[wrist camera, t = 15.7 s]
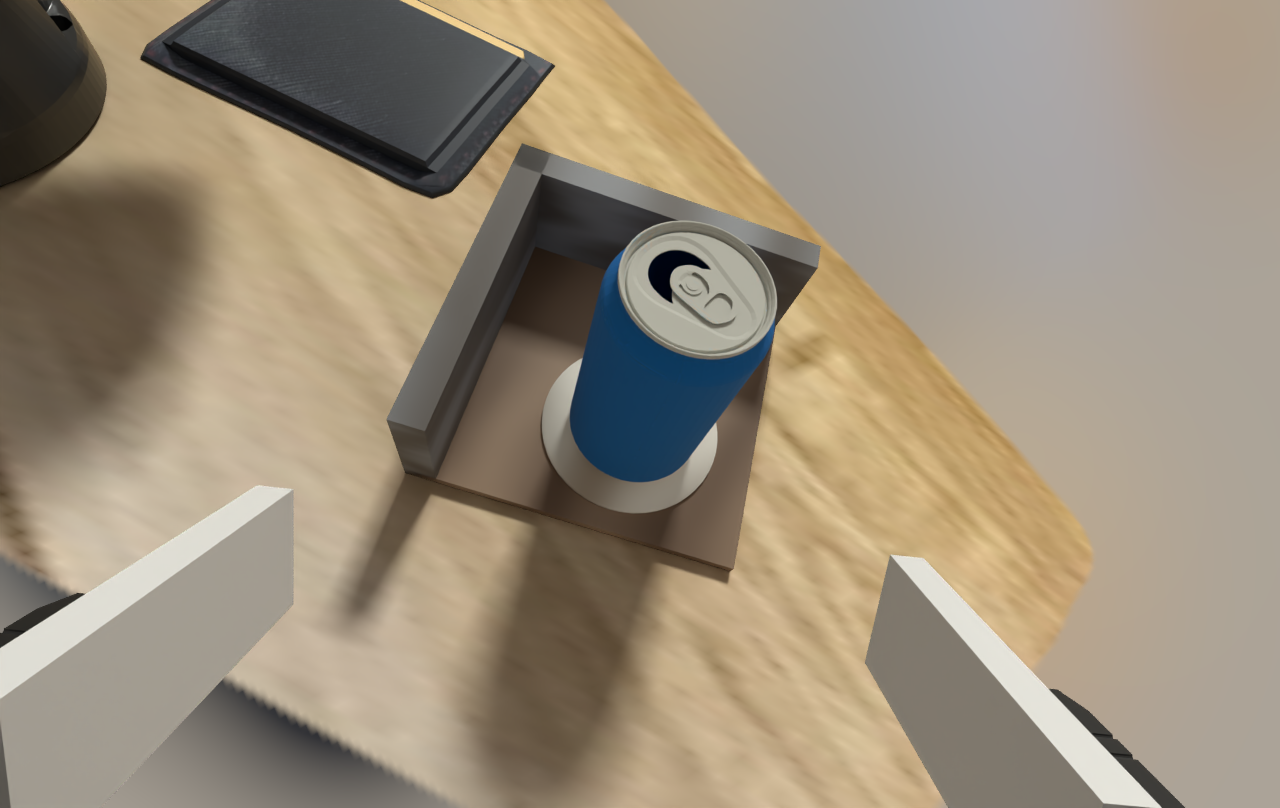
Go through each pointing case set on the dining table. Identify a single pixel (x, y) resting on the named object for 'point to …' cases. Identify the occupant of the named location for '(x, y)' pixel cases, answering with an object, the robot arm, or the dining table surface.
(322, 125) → the dark grey flat rectangle
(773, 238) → the corner tray
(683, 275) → the beverage can
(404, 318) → the dining table surface
